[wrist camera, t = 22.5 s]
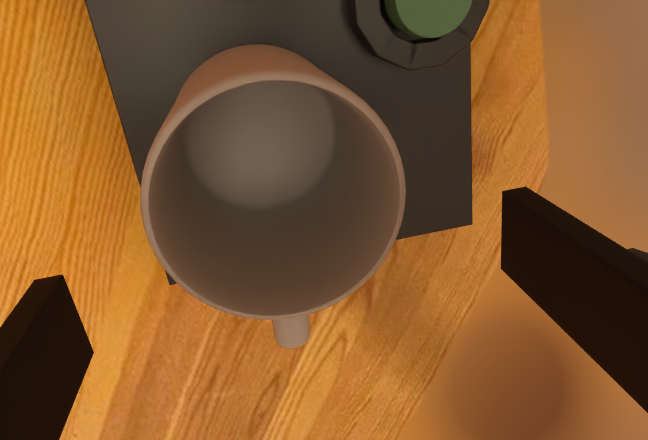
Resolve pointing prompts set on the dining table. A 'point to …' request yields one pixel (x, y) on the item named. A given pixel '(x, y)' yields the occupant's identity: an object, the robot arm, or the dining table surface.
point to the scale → (328, 56)
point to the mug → (271, 189)
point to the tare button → (427, 16)
